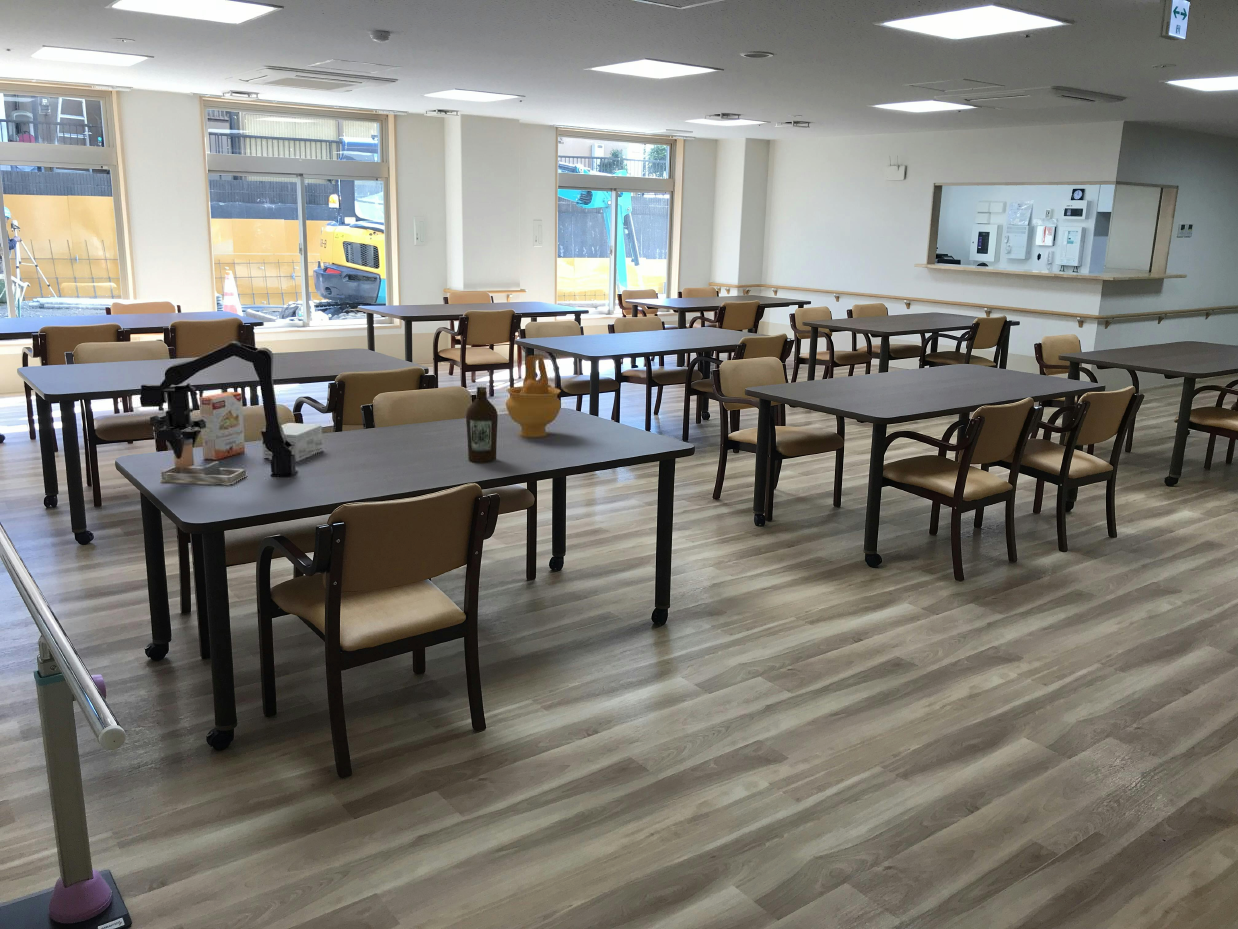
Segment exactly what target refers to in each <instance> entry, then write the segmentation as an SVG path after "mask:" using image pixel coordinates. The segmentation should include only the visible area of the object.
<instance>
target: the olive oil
mask: <svg viewBox="0 0 1238 929" xmlns="http://www.w3.org/2000/svg"><path fill="white" fill-rule="evenodd" d="M487 392H488V391H487V387H486V386H477V387H476V399H474V401H473V402H472V403H471V404H470V405H469V406H468V408H467V409H466V414H465V420H466V421H465V422H466V435H467V437H466V438H467V439H466V440H467V457H468V461H469V462H472V463H477V464H480V463H481V464H487V463H493V462H495V461H496V460H497V446H498V445H497V442H498V440H497V439H498V438H497V437H498V423H499V422H498V419H499V416H498V411H497V409H496V406H494V404H492V402H490V400H488V398H487V397H488V393H487Z"/></svg>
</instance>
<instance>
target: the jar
mask: <svg viewBox="0 0 1238 929" xmlns="http://www.w3.org/2000/svg"><path fill="white" fill-rule="evenodd" d="M192 443H193V440H192V439H191V438H185V440H184V445H183V450H182V455H181V458H180V459H177V458H176V456H175V454H174V452H173V451H172V452H173V462H174V464H173V466H175V467H181V468H182V467H194V465H195V459H194V458H195V457H194V447H193V446H192Z"/></svg>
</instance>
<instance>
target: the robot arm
mask: <svg viewBox="0 0 1238 929" xmlns="http://www.w3.org/2000/svg"><path fill="white" fill-rule="evenodd" d="M232 357H236V358H239V359H242V360H243V361H245V362H249V363H251V364H252V366H253V369H254V372H255V373H256V376H257V378H258V380H259V381H258V382H259V386H260V393H261V400H262V406H263V411H264V412H263V413H264V419H265V427H263V428H262V429H261V431H260V433H261V438H262V437H263V445H264V444H265V447H266V449H267V450H269V451H270V452H272V454H273V455H272V459H269V460H270V472H271V473H270V474H269V475H270V477H286V478H287V477H292V476H295V474H297V473H298V472H299V470H296V469H297V468H296V461H295V454H291V453H292V450H293V445H292V444H291V443H290V442H288V441H287V440H286V437H285V434H284V431H283V428H282V426H281V425H282V424H281V422H280V418H279V412H278V406H277V400H276V392H275V386H274V380H273V376H274V374H273V373H274V372H273V370H274V353H273V351H272V350H270V348H267V347H259V348H258V347H255V346H252V345H249V344H248V345H247V344H244V343H241V342H239V341H237V340H236V341H235V340H234V341H231V342H229V343H228V344H225V345H223V346H221V347H219V348H217V349H214V350H212V351H210V352H208V353H206V354H204V355H201V356H199V357H197V358H195V359H191V360H186V361H182V362H179V363H174V364H172V365H170V366H169V367H168V368H167V369H166V370H165V371H164V379H163V381H161V382H160V384H149V383H148V384H144V383H143V384H141V385H140V396H139V402H140V406H141V407H142V408H163V407H164V404H167V403H168V409H167V410H166V411H165V415H163V416H159V415H153V416H150V417H149V426H150V427H151V428H153V429H154V430H155V439H156V440H163V441H166V442H167V443H169V446H170V447H171V449H172V452H174V454H175V456H176V458H177V459H180V458H181V455H182V450H183V445H184V440H185V438H191V439H192V440H193V443H192V446H193V448H194V447H195V444H196V443H197V440H198V438H199V436H200V434H201V433H202V430H201V429H204V428H206V422H205V421H204V420H203V419H201V418H192V417H191V413H193V412H194V409H193V408H191V406H190V395H189V394H190V393H193V392H194V391H196V387H194V386H193V385H191V383H190V382H187V383H186V385H182V384H184V382H186V381H187V380H189V379H191V377H193V376H194V375H197V374H198V373H199V372H201V371H203V370H205V369H207V368H210V367H212V366H214V365H216V364H218V363H221V362H223V361H226V360H227V359H230V358H232ZM171 386H175V387H174V388H171ZM263 445H262V446H263ZM174 454H173V455H174Z"/></svg>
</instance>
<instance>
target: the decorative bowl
mask: <svg viewBox="0 0 1238 929" xmlns="http://www.w3.org/2000/svg"><path fill="white" fill-rule="evenodd" d="M537 363H538V364H537V365H538V371H539V374H540V375H539V376H540V377H539V379H537V377H536V373H537V372H536V370H537V369H536V365H535V364H536V360H535V356H534V355H529V356H527V357H526V358H525V363H524V364H525V368H526V369H525V370H526V373H525V377H524V379H523V381H522V386H521V385H520V386H513V387H508V388H507V389H506V392H507V393H508V394H509V395H510V396H509V397H508V398H507V399H506V402H505V407H506V410H507V413H508V415H509V417H510V419H512V421H513V422H515V423H516V424H518V425H519V426H520V427H521V430H520V432H519V435H520V434H521V436H522V437H528V438H540V437H541V438H542V437H545V436H548V433H547V431H546V427H547V426H548V425H549V424H551V423H552V422H554V421H555V420H556V419H557V417H558V415H559V413H560V411H561V407H562V402H561V400H560V398H558V395H559V394H560V393H561V390H560V389H559V388H556V387H552V386H549V378H548V374H547V369H546V364H545V361H544V359H543V357H542V356H541V355H540V356H539V357H538V359H537Z"/></svg>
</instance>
